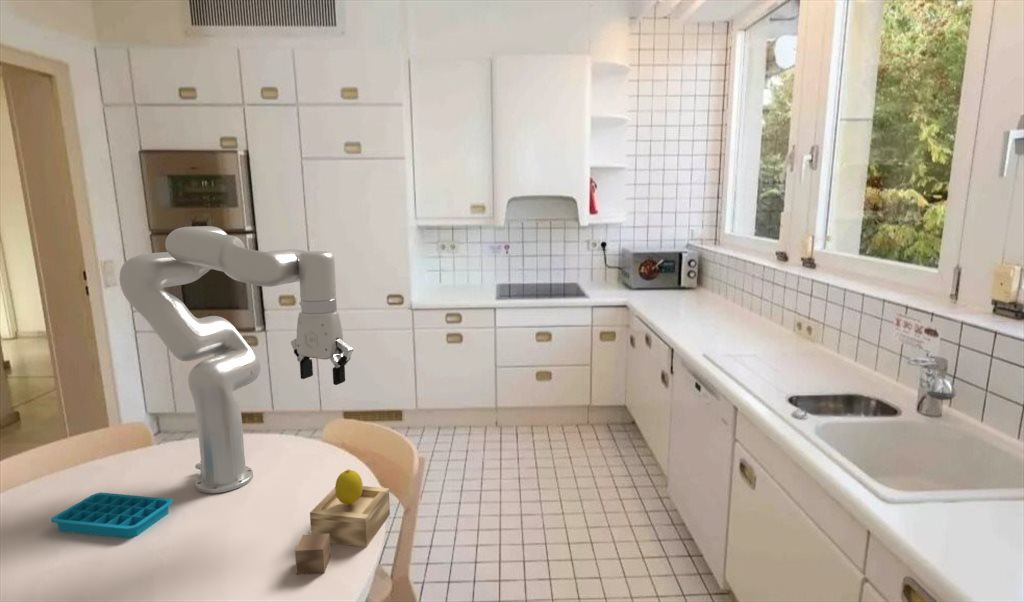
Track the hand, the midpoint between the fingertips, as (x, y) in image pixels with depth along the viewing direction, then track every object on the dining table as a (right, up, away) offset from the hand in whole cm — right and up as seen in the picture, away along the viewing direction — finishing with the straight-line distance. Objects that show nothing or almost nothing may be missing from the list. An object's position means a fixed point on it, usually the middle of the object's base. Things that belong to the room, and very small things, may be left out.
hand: (322, 380), depth 123 cm
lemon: (+9, -25, -9) cm, 28 cm away
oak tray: (+9, -30, -8) cm, 33 cm away
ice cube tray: (-43, -30, -6) cm, 53 cm away
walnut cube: (+6, -32, -21) cm, 39 cm away
